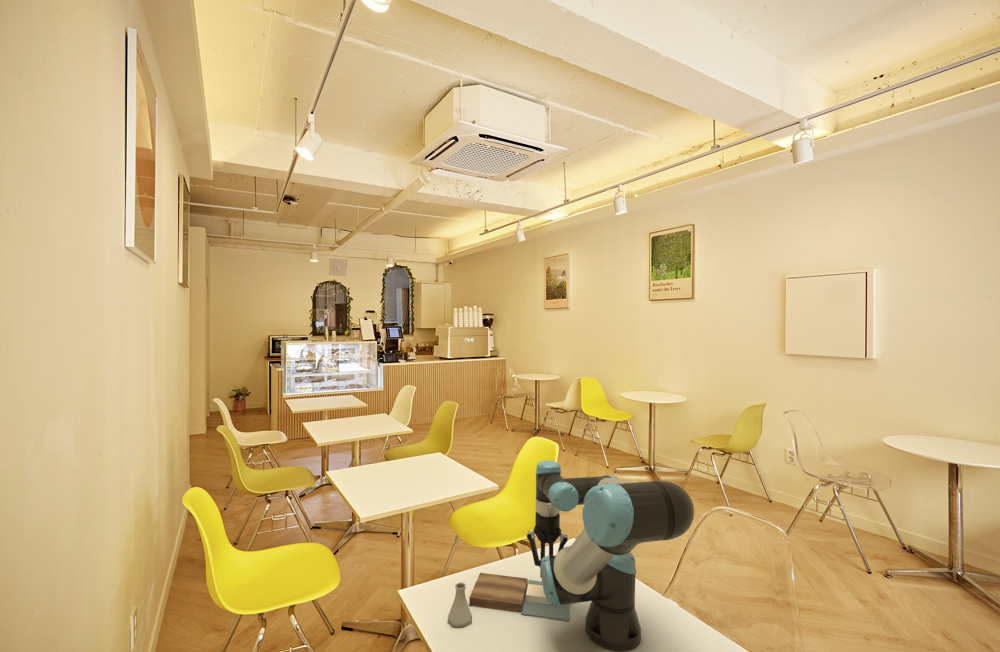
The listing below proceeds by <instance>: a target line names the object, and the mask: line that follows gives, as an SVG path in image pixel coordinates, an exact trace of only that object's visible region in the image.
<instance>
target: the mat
mask: <svg viewBox="0 0 1000 652" xmlns="http://www.w3.org/2000/svg"><path fill="white" fill-rule="evenodd" d="M528 584H533V585H542V586H543V584H542V580H533V579H528ZM527 587H528V585H527ZM526 592H527V590H526ZM520 615H521V616H527V617H534V618H541V619H548V620H549V619H550V620H556V621H562V622H563V621H564V622H570V619H571V618H570V615H571V604H565V605H561V606H559V605H550V604H543V603H535V602H527V601H526V594H525V599H524V603H523V608H522V612H521V613H520Z"/></svg>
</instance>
